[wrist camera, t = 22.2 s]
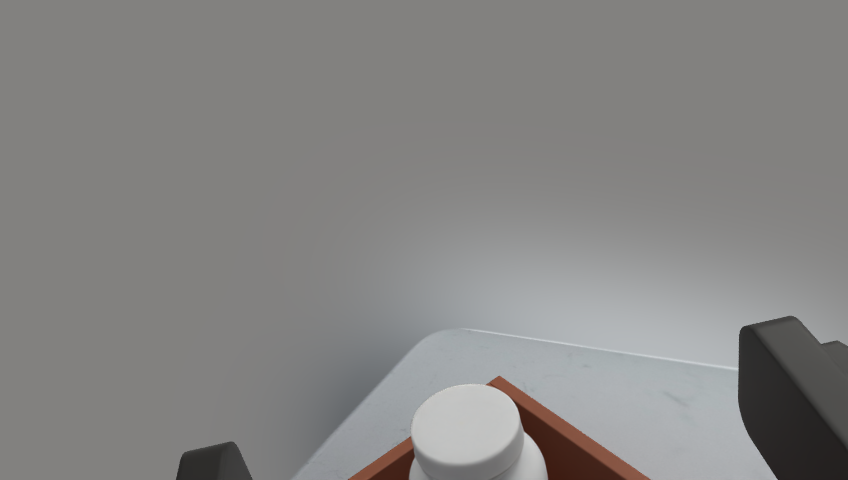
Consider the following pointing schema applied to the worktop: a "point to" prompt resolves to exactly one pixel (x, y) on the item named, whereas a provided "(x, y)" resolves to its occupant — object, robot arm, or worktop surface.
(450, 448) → the pill bottle
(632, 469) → the bin
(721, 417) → the worktop surface
